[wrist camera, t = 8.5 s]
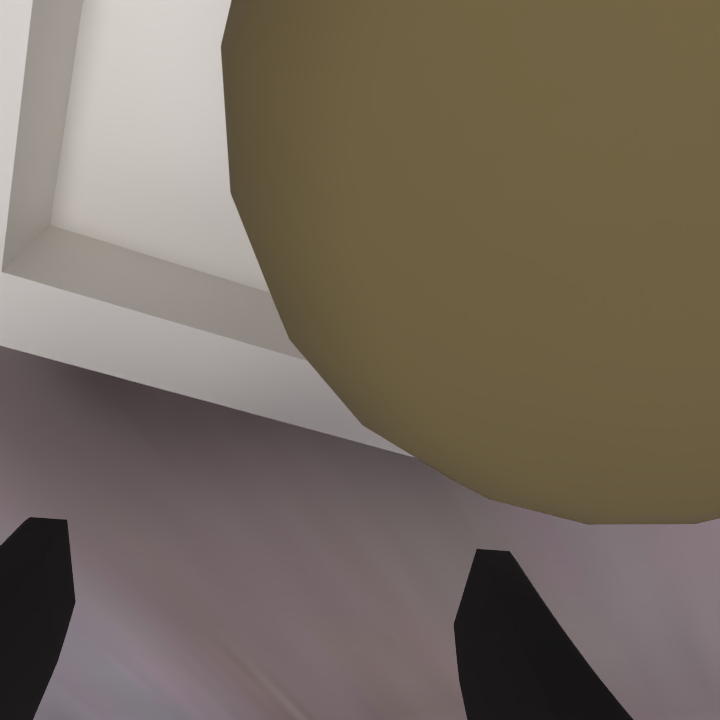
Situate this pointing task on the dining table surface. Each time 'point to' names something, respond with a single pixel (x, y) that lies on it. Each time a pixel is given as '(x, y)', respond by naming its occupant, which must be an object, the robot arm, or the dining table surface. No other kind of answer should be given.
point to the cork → (497, 234)
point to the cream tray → (138, 212)
